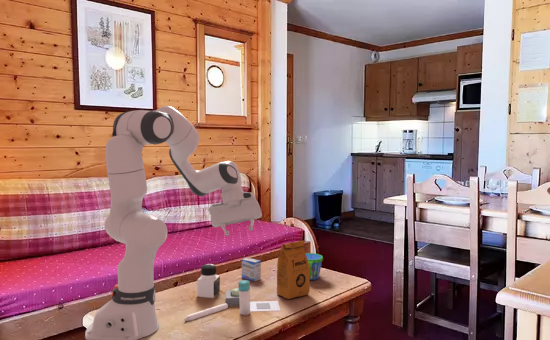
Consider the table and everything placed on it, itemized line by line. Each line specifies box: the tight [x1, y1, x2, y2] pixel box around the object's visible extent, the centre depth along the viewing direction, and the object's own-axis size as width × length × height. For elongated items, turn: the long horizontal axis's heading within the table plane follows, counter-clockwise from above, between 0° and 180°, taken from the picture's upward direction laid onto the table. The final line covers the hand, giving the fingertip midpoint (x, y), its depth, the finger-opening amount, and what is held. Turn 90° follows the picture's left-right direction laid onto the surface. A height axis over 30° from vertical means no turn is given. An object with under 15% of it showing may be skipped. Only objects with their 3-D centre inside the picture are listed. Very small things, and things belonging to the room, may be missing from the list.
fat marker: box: [237, 279, 251, 316], centre depth 151 cm, size 4×4×12 cm
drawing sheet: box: [250, 300, 281, 313], centre depth 158 cm, size 12×9×1 cm
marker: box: [183, 302, 229, 322], centre depth 150 cm, size 18×2×2 cm, turn 133°
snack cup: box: [305, 252, 324, 281], centre depth 190 cm, size 16×10×10 cm
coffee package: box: [276, 240, 311, 300], centre depth 169 cm, size 10×12×22 cm
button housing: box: [225, 289, 240, 307], centre depth 162 cm, size 8×8×3 cm
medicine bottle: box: [196, 263, 221, 299], centre depth 169 cm, size 7×7×12 cm
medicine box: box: [241, 257, 262, 282], centre depth 188 cm, size 8×4×9 cm, turn 55°
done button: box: [231, 287, 239, 296], centre depth 162 cm, size 4×4×3 cm
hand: (239, 232), depth 163 cm, fingers open, 8 cm apart
